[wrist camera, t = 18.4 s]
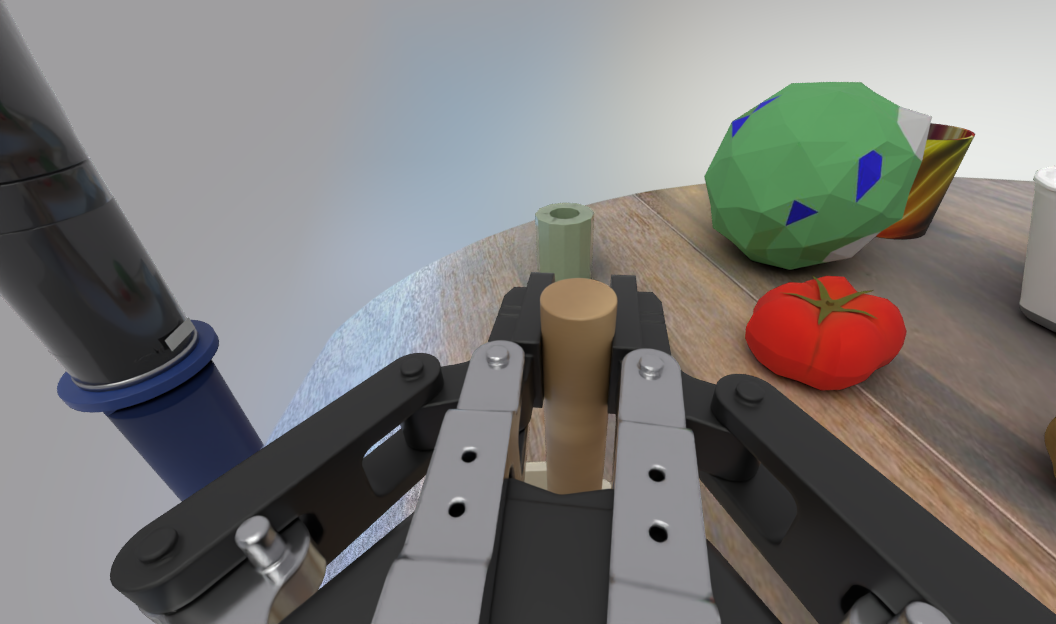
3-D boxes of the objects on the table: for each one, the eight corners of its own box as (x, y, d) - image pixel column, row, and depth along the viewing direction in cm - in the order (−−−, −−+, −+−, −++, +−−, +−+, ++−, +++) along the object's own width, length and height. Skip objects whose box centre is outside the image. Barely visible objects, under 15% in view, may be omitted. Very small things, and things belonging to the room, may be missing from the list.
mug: (799, 207, 65) (826, 121, 58) (909, 213, 61) (951, 122, 54) (813, 233, 57) (846, 138, 51) (939, 241, 54) (993, 141, 47)
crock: (531, 286, 50) (528, 221, 45) (547, 262, 55) (545, 201, 50) (584, 293, 48) (586, 226, 43) (595, 267, 53) (598, 204, 48)
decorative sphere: (834, 310, 53) (846, 285, 36) (692, 237, 63) (650, 192, 46) (944, 167, 49) (1015, 65, 32) (773, 114, 59) (759, 15, 42)
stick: (547, 633, 20) (529, 312, 10) (558, 592, 21) (551, 273, 11) (586, 648, 19) (610, 324, 9) (594, 605, 21) (623, 281, 10)
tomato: (904, 367, 36) (942, 301, 32) (827, 423, 32) (862, 355, 28) (792, 313, 43) (813, 253, 39) (717, 352, 39) (733, 290, 35)
